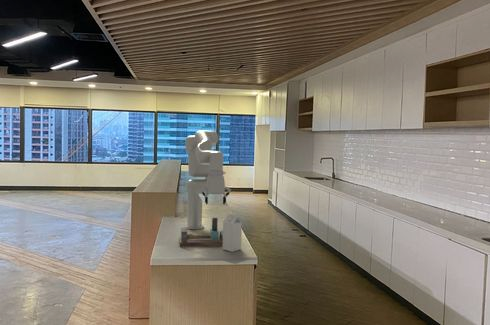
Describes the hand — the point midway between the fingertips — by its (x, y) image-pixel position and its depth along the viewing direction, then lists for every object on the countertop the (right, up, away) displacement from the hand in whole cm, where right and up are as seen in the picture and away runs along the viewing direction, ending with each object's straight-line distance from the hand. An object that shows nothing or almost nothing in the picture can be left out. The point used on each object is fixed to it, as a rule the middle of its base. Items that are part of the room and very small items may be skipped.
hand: (215, 204), depth 247 cm
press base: (-8, -22, +1) cm, 23 cm away
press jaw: (-1, -20, +2) cm, 20 cm away
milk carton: (+9, -24, -11) cm, 28 cm away
